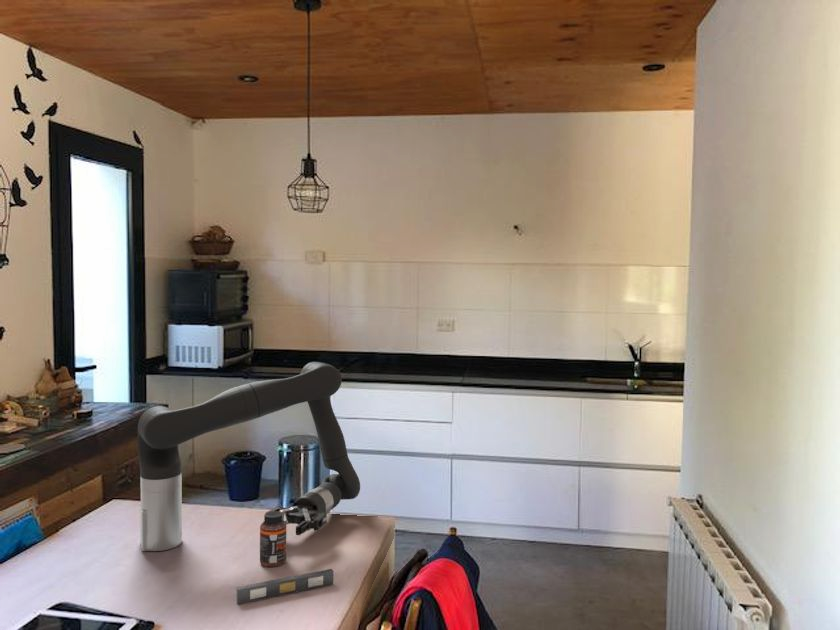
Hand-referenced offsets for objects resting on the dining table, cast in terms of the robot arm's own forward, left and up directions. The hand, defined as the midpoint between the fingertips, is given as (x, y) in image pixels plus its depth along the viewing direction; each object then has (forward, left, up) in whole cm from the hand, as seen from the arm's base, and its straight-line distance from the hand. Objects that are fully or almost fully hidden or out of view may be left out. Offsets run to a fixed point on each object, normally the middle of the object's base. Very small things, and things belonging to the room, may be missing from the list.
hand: (281, 528), depth 152 cm
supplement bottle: (-2, -3, -7) cm, 8 cm away
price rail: (-3, -18, -7) cm, 20 cm away
